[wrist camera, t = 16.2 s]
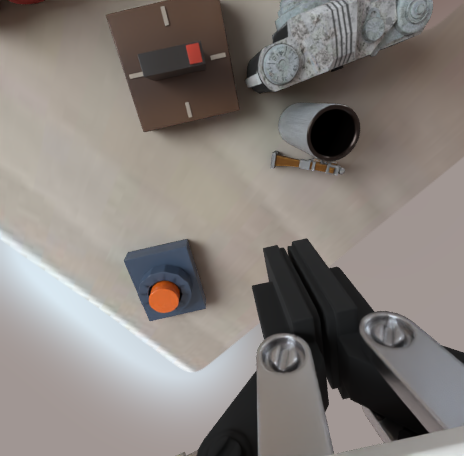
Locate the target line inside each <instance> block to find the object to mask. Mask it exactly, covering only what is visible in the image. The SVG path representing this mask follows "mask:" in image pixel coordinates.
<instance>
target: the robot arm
mask: <svg viewBox="0 0 464 456" xmlns="http://www.w3.org/2000/svg"><path fill="white" fill-rule="evenodd" d="M263 252H264V257H265V262H266V268H267V273H268V278H269V282H267V283H262V284H258V285H253V286H252V289H253V294H254V298H255V303H256V307H257V312H258V316H259V320H260V324H261V328H262V333H263V337H264V341H263V342H262V343H261V344H260V346H259V348H258V350H257V357H256V360H257V371H256V372H255V373H254V374H253V376H252V377H251V379H250V380H249V381H248V382H247V384H246V385H245V386H244V388H243V389H242V390H241V392H240V393H239V394H238V395H237V397H236V398H235V399H234V401H233V402H232V403H231V405H230V406H229V407H228V409H227V410H226V411H225V413H224V414H223V415H222V417H221V418H220V419H219V420H218V422H217V423H216V424H215V426H214V427H213V429H212V430H211V431H210V432H209V434H208V435H207V436H206V438H205V439H204V440H203V442H202V444H201V446H200V447H199V449H198V450H197V451H195V452H193V453H191V454H189V455H187V456H464V353H463V352H460V351H457V350H454V349H451V348H448V347H445V346H442V345H440V344H439V343H438V342H437V341H435V340H434V339H433V338H432V337H431V336H429V335H428V334H427V333H426V332H424V331H423V330H422V329H420V327H419V326H417V325H416V324H415V323H414V322H412V321H411V320H409V319H408V318H406V317H405V316H402V315H400V314H397V313H393V312H388V311H377V312H374V311H373V309H372V308H371V307H370V306H369V304H368V303H367V302H366V300H365V299H364V298H363V297H362V295H361V294H360V293H359V292H358V291H357V289H356V288H355V287H354V285H353V284H352V283H351V282H350V280H349V279H348V278H347V277H346V275H345V274H344V273H343V272H342V270H341V269H340V268H339V267H334V268H328V266H327V265H326V264H325V262H324V261H323V260H322V258H321V257H320V255H319V254H318V253H317V251H316V250H315V249H314V247H313V246H312V245H311V243H310V242H309V240H308V239H302V240H297V241H293V242H292V246H288V254H287V253H286V251H285V249H284V248H279V247H278V245H275V246H271V247H266V248H263ZM326 377H327V379H328V382H329V384H330V386H331V388H332V389H335V388H338V390H339V392H340V394H341V396H342V398H343V399H346V398H350V399H351V400H353V401H354V402H357V403H359V404H360V405H362V409H363V411H364V413H365V415H366V417H367V419H368V420H369V421H370V423H371V424H372V426H373V427H374V429H375V430H376V432H377V433H378V435H379V436H380V438H381V439H382V441H383V442H384V443H383V444H379V445H373V446H369V447H364V448H360V449H356V450H351V451H346V452H342V453H337V454H334V451H333V446H332V442H331V438H330V433H329V429H328V424H327V420H326V416H325V411H326V409H327V407H328V405H329V400H328V391H327V379H326ZM177 456H186V454H185V452H183V453H181V454H179V455H177Z"/></svg>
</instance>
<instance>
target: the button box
mask: <svg viewBox="0 0 464 456" xmlns="http://www.w3.org/2000/svg"><path fill="white" fill-rule="evenodd" d="M124 262H125V265H126V267H127V269H128V272H129V274H130V276H131V279H132V281H133V283H134V286H135V288H136V290H137V293H138V296H139V298H140V301H141V303H142V305H143V307H144V309H145V311H146V314H147V316H148V318H149V321H153V320H157V319H162V318H166V317H171V316H175V315H180V314H184V313H188V312H193V311H197V310H202V309H206V298H205V294H204V291H203V288H202V285H201V282H200V278H199V275H198V272H197V269H196V265H195V262H194V259H193V256H192V252H191V249H190V246H189V243H188V240H187V239H185V240H180V241H176V242H172V243H167V244H163V245H158V246H154V247H150V248H145V249H141V250H136V251H132V252H128V254H127V255H126V257H125V259H124ZM160 281H170V282H173V283H174V284H176V285H177V286H178V288H179V290H180V297H179V304H178V306H177V307H176V308H175V309H174V310H173V311H171V312H167V313H161V312H157V311H155V310H154V309H153V308H152V307H151V306H150V304H149V296H150V293H151V289H152V287H153V286H154V285H155V284H156V283H158V282H160Z"/></svg>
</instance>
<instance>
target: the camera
mask: <svg viewBox="0 0 464 456" xmlns="http://www.w3.org/2000/svg"><path fill="white" fill-rule="evenodd" d="M432 10H433V1H432V0H282V1H281V2H280V10H279V12H278V16H279V18H278V19H277V20H276V21H275V24H276V28H277V31H276V32H275V33H274V34H273V35H272V39H273V44H271V45H268V46H266V47H264V48H263V49H262V50H261V51H260V52H259V53H258V54H256V55H255V56H254V57H253V58H252V59H251V60H250V61H249V64H248V68H247V79H245V82H246V85H247V86H248V88H249V87H251V88H252V89H253V90H254V91H256V92H258V93H263V92H270V91H273V92H276V91H279V90H281V89H284V88H286V87H289V86H291V85H294V84H296V83H299V82H302V81H304V80H307V79H309V78H312V77H314V76H317V75H319V74H322V73H324V72H327V71H329V70H331V72H332V71H336V70H338V69H341V68H343V65H345V64H347V63H350V62H352V61H355V60H357V59H360V58H362V57H365V56H367V55H370V56H371V57H373V56H376V55H377V53H378V51H380V50H382V49H385V48H387V47H390V46H392V45H395V44H397V43H400V42H402V41H404V40H407V39H409V38H411V37H414V36H416V35H419V34H421V32H422V31H423V29H424V27H425V25H426V24H427V22H428V21H429V19H430V17H431V14H432Z"/></svg>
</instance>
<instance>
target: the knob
mask: <svg viewBox="0 0 464 456" xmlns="http://www.w3.org/2000/svg"><path fill="white" fill-rule="evenodd" d="M138 59H139V62H140V66H141V69H142V72H143V76H144V77H145V78H148V79H151V80H154V81H156V80H161V79H165V78H170V77H174V76H179V75H183V74H188V73H193V72H197V71H202V70H205V59H204V54H203V49H202V44H201V41H196V42H191V43H187V44H182V45H177V46H173V47H168V48H164V49H159V50H155V51H150V52H146V53H141V54H138Z"/></svg>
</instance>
